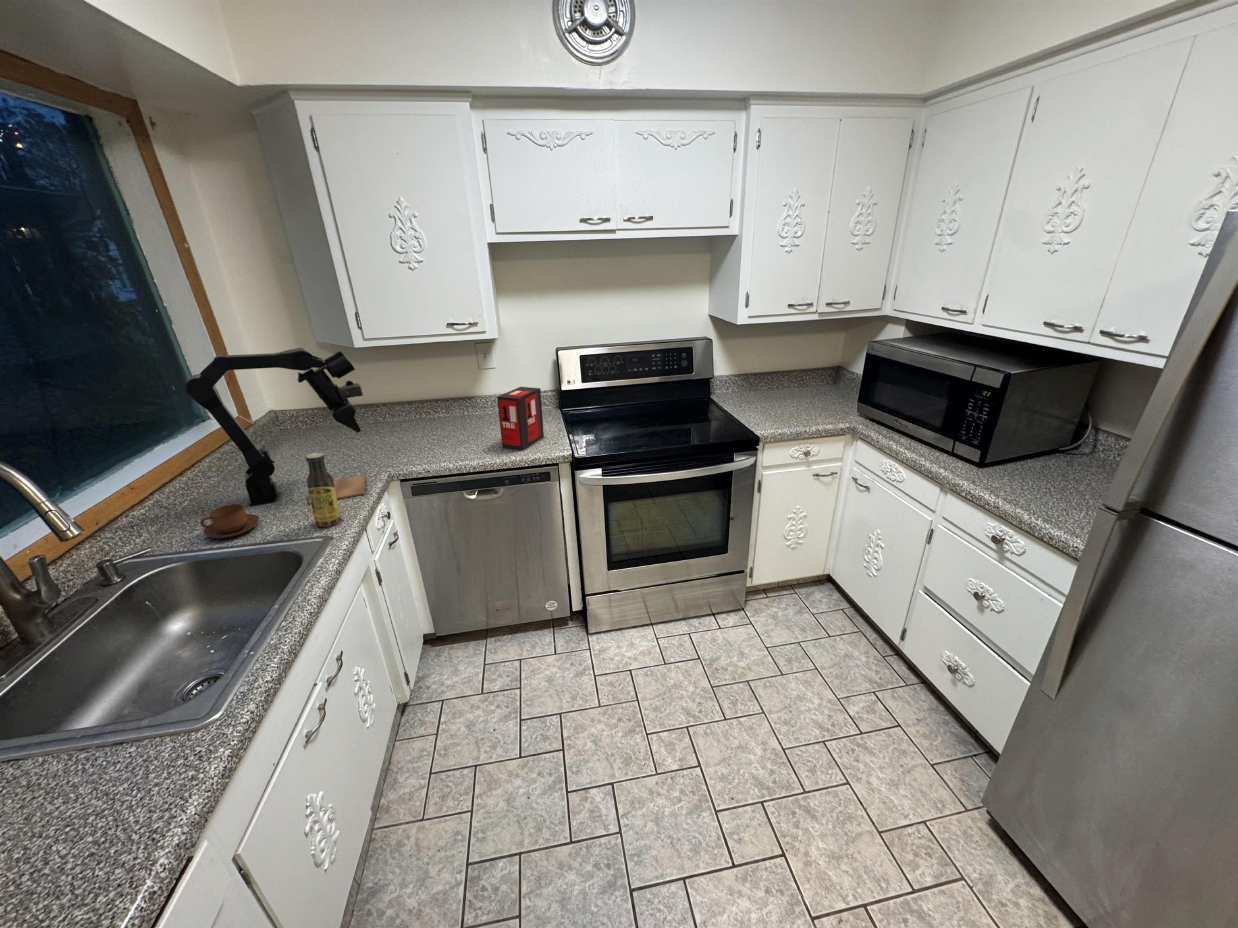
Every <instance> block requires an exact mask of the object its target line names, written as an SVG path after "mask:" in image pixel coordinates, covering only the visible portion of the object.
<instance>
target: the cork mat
mask: <svg viewBox="0 0 1238 928" xmlns="http://www.w3.org/2000/svg"><path fill="white" fill-rule="evenodd" d="M365 476H366V475H359V476H353V477H347V478H346V477H345V478H340V479H335V480H334V479H333V482H334V486H335V490H336V496H337V500H342V499H347V498H353V497H360V496H365V489H366V488H365V486H366V485H365V484H366V477H365ZM307 504H308V505H311V502H310V497H309V499H308V502H307Z"/></svg>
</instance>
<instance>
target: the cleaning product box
mask: <svg viewBox="0 0 1238 928" xmlns="http://www.w3.org/2000/svg"><path fill="white" fill-rule="evenodd" d="M541 392H542V391H541V388H540V387H529V386H518V387H516V388H514V389H512V390H510V391H507V392H505V393H503V394H500V395H498V396H496V399H497V409H498V419H499V427H500V437H501V448H502V449H507V450H516V451H524V450H526V449H528V448H529V447H531V446H532V445H534V444H535V443H537V442H539V441H540V440H541V439H543V438H545V433H544V432H545V431H544V419H543V405H542V393H541Z"/></svg>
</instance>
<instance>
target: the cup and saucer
mask: <svg viewBox="0 0 1238 928" xmlns="http://www.w3.org/2000/svg"><path fill="white" fill-rule="evenodd" d="M207 520H209V521H210V520H211V522H212V523H210V524H208V525H207V524H205V523H204V522H205V521H207ZM259 522H260V517H259V516H258V515H256V514H253V513H247V512H246V509H245V505H244V504H240V503H232V504H227V505H223V506H220V507H217V508H215V509H213V510H212V511H210V513H209V516H205V517H203V518H201V519H200V522H199V524H200V525H201V527H203V528H204V529H203V534H204V536H206V537H208V538H211V539H227V538H232V537H236V536H240V535H242V534H245V533H246V532H249V531H250V530H252V529H253V528H255V527H256V526H257V525H258V523H259Z"/></svg>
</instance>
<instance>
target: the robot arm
mask: <svg viewBox="0 0 1238 928" xmlns="http://www.w3.org/2000/svg"><path fill="white" fill-rule="evenodd" d="M276 368H277V369H285V370H292V371H299V372H297V376H298V377H297V379H296V380H297V382H298V383H299V384H301V383H303V382H304V381H306V382H307V384H308V385H309V386H310V388H311V389H312V390H313V391H314V392H315V394H316V395H317V397H318V398H319V399H320V400H321V401H322V402H323V403H324V405H325V406H326V407H327V409H328V410H329V411H331V412H330V415H331V417H332V418H333V419H334V420H335V422H337V423H339V424H341V425H343V426H345V427H347V428H349V429H351V430H352V431H354V432H355V433H358V434H359V433H361V432H362V430H361V428H360V426H359V424H358V422H357V420H356V418H355V415H356V413H357V410H356V409H355V407H354V406H353V405H352V404H351V402H350V400H349V399H350V398H356V397H362V396H364V393H363V390H362V386H361V385H360V383H358V382H355V383H354V382H353V381H352V380H346V381H345V384H344V385H342V386H338V385H337V383H335V382H334V381H333V380H332V379H334V378H336V379H338V380H340V379H341V378H343V377H345V376H347V375H348V374H350V373H352V372H354V371H355V370H356V368H355V367H354V365H353V364H352V363H351V361H350V360H349V359H348V358H347V357H346V356H345V355H344V353H343V352H342V351H341V350H337V351H335V353H333V354H332V355H329V356H327V357H326V358H324V359H323V358H322V357H318V356H316V355H313V354H312V353H311V352H310V351H309V350H308V349H306V348H304V347H297V348H292V349H286V350H283V351H278V352H274V353H273V352H272V353H271V352H270V353H249V354H248V353H247V354H217V355H216V356H214V358H213V359H212V361H211V362H210V363H208V364H207V366H206V367H204V368H203V370H202V371H201V372H200V373H197V374H192V375H191V376H189V377H188V379H187V381H186V383H185V385H184V390H185V393H186V394H187V395H188V396H189V397H190V398H191V399H192V400H194V402H195V403H197V404H198V405H199V406H201V407H202V408H204V409H205V410H206V411H207V412H209V414H210V415H211V416H212V417H213V419H214V420H215V421H216V422H217V424H218V425H219V426H220V427H221V428H222V430H223V431H224V433H226V435H227V436H228V437H229V438H230V440H231V441H232V442H233V444H234V445H235V446H236V447H237V448H238V450H239V451H240V452H241V454H242V455H243V458H244V460H245V462H246V464H247V469H246V470H245V471H244V486H245V489H246V493H247V495H248V499H249V503H248V505H249V506H256V505H261V504H267V503H273V502H276V500H277V498H278V497H279V494H280V493H279V489H278V486H277V483H276V481H274V480H273V477H272V475H273V474H274V473H275V470H276V467H275V463H276V461H275V457H274V455H273V454H271V452H270V451H269V449H268V447H267V446H266V445H263V446H262V447H260V446H259V445H257V444H256V443H255V442H254V440H253V439H252V438H251V437H250V435H249V434H248V433H247V431H246V430H245V429H244V428H243V426H242V425H241V423H239V421H238V420H237V418H236V417H235V416H234V415H233V413H232V412H231V411H230V410H229V408H228V407H227V406H226V405H225V403H224V402H223V399H222V397H221V395H220V393H219V389H217V387H216V384H217V383H218V382H219V381H220V380H221V379H222V378H223V376H224V375H226V373H227V372H228V371H237V370H238V371H241V370H257V369H260V370H261V369H276ZM325 370H326V371H327V372H328V374H329V375H330V376H329V375H328V374H327V372H326V371H325ZM300 371H301V372H300ZM303 371H305V372H303ZM331 377H332V378H331ZM348 398H349V399H348Z"/></svg>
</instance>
